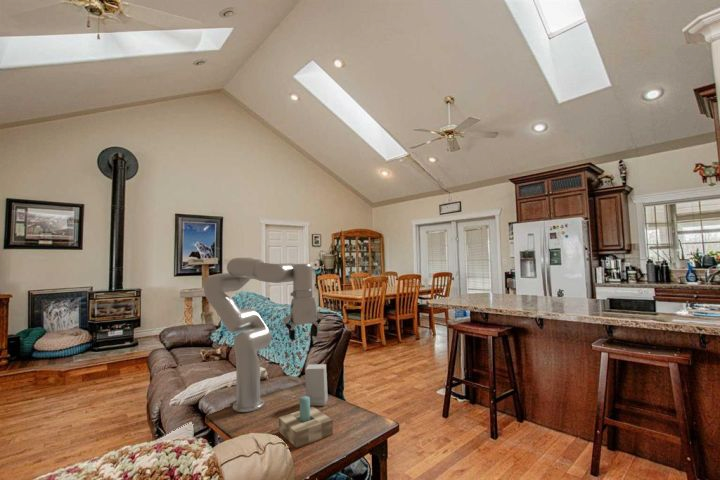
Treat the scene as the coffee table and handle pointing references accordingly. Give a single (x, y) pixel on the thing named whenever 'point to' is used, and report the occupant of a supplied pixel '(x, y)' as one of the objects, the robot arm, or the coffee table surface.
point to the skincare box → (316, 384)
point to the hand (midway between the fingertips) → (303, 337)
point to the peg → (304, 409)
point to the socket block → (305, 427)
